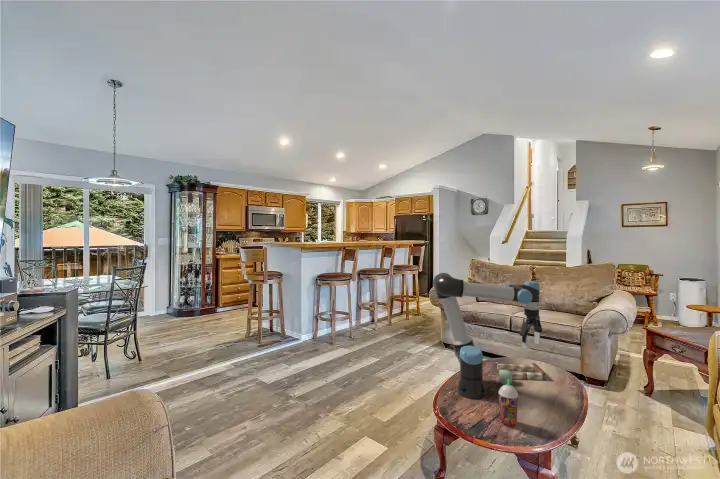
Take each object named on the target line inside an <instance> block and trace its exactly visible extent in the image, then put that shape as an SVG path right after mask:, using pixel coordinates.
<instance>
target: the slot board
mask: <svg viewBox="0 0 720 479" xmlns="http://www.w3.org/2000/svg"><path fill="white" fill-rule="evenodd" d="M496 367H497V370H498V371H499V370H509V371H517V372H512V380H525V379H527V380H528V381H529V380H530V381H531V380H532V381H546V380H547V373H546V372H545V371H544V370H543V369H542V368H541V367H540V366H539V365H538V364H537V363H533V362H532V363H531V364H515V363H514V364H513V363H511V364H510V363H509V364H508V363H497V366H496ZM521 372H522V373H521Z"/></svg>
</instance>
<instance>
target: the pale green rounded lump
mask: <svg viewBox="0 0 720 479" xmlns="http://www.w3.org/2000/svg"><path fill="white" fill-rule="evenodd" d="M512 373H513V372H512V370H498V383H500V384H501V385H508V379H509V385H511V386H512V385H513V379H512Z"/></svg>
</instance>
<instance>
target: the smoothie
mask: <svg viewBox="0 0 720 479" xmlns="http://www.w3.org/2000/svg"><path fill="white" fill-rule="evenodd" d="M497 393H498V403H499V404H498V405H499V418H500V422H501V424H503V425H504V426H506V427H515V426H516V423H518V422H517V421H518V407H519V393H518V391H517V389H516V388H515V387H514V386H513V385H512V384H511V385H509V379H508V385H504V384H502V386H501V387H500V388H499V390H498V392H497Z"/></svg>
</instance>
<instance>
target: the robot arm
mask: <svg viewBox="0 0 720 479" xmlns="http://www.w3.org/2000/svg"><path fill="white" fill-rule="evenodd" d="M432 286H433V287H434V289H435V290H434V291H435V294H436V295H437V299H438V300H440V301H441V304H442V307H443V309H444V314H445V316H446V319H447V322H448V325H449V328H450V332H451V335H452V338H453V340H452V346H453V352H454V355H455V357H456V359H457V360H458V362H459V369H460V371H459V373H460V374H459V379H458V381H457V385H456V392H457V393H458V394H459V395H461V397H465V398H467V399H483V398H485V397H486V396H487V388H486V384H485V382H484V377H483V376H484V374H483V372H484V367H483V366H484V363H483V362H484V356H483V351H482V350H481V349H480V348H479V347H476V346H475V344H474V339H473V338H472V337H471V336H469V334H468V330H467V327H466V324H465V321H464V318H463V315H462V311H461V308H460V305H459V302H458V299H457V298H464V297H471V298H481V299H489V300H498V301H508V302H514V303H515V302H516V303H520V304H522V305H524V306H523V307H524V309H523V312H524V313H523V315H525V316H526V317H525V318H523V319H522V324H521V329H520V330H519V331H520V333H519V336H521V348H523V349H525V350H527V349H528V345H529V344H528V342H529V341H528V334H529V332H530V329H531V327H533V329H534V337H533V339H534V340H533V341H534V342H533V343H534V344H536V345H540V342H541V341H540V340H541V334H542V333H543V326H542V323H541V319H540V318H541V317H540V305H541V304H540V290H541V289H540V288H541V287H540V282H538V281H534V280H526V281H525V282H524V284H504V285H495V284H486V283H479V282H467V281H465V280H464V279H459V278H456V277H453V276H452V275H450V274H449V273H448V272H440V273H438V274H436V275H435V276H434V277H433V280H432Z"/></svg>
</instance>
